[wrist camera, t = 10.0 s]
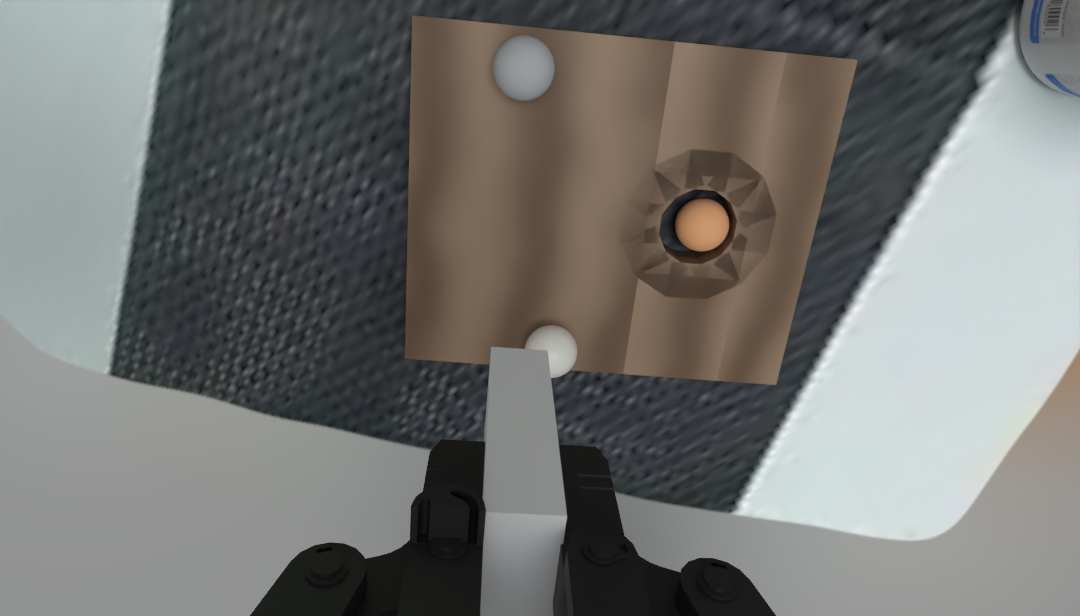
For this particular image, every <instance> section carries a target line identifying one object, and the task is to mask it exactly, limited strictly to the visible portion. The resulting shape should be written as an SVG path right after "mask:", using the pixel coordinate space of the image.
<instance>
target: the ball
mask: <svg viewBox="0 0 1080 616" xmlns="http://www.w3.org/2000/svg"><path fill="white" fill-rule="evenodd" d="M675 231H676V234H677V237H678V239H679V240H680V242H681V243H682V244H683V245H684V246H686V247H687V248H689V249H691V250H694V251H701V252H702V251H709V250H712V249H714V248H716V247H717V246H719V245H720V244H721V243H722V242H723V241H724V239H725V238H726V236H727V234H728V231H729V218H728V215H727V212H726V211H725V209H724V208H723V207H722V206H721V205H720V204H719V203H717V202H716V201H714V200H711V199H707V198H698V199H694V200H691V201H690V202H688V203H686V204H685V205H684V206H683V207H682V208H681V209H680V211H679V212H678V214H677V216H676V220H675Z"/></svg>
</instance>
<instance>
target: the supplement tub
mask: <svg viewBox="0 0 1080 616" xmlns="http://www.w3.org/2000/svg"><path fill="white" fill-rule="evenodd" d="M1019 35H1020V45H1021V49H1022V53H1023V55H1024V58H1025V61H1026V62H1027V64H1028V66H1029V68H1030V69H1031V71H1032V72H1033V73H1034V74H1035V75H1036V77H1037V78H1038V79H1040V80H1041V81H1042V82H1043V83H1045V84H1046V85H1047V86H1049V87H1050V88H1052V89H1054V90H1056V91H1058V92H1060V93H1063V94H1066V95H1070V96H1076V97H1080V0H1024V2H1023V6H1022V10H1021V16H1020V25H1019Z"/></svg>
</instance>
